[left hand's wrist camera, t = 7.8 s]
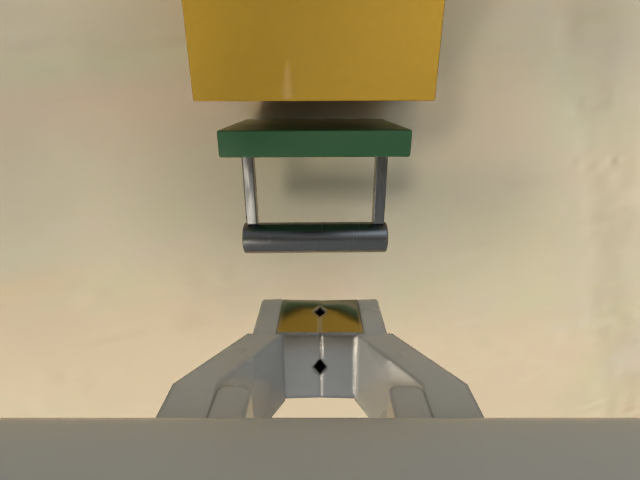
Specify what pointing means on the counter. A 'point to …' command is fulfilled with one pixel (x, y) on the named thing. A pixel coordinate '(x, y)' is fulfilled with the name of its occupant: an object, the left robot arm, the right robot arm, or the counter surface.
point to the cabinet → (313, 49)
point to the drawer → (314, 142)
